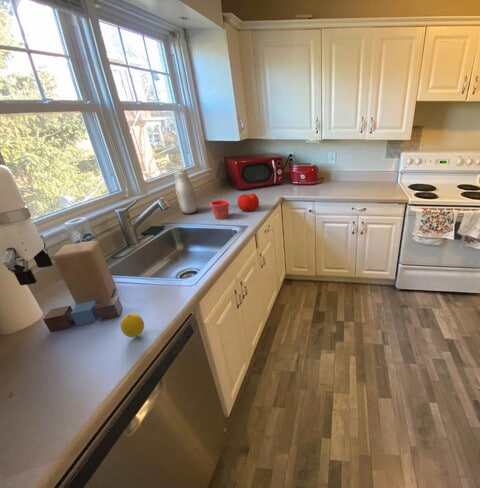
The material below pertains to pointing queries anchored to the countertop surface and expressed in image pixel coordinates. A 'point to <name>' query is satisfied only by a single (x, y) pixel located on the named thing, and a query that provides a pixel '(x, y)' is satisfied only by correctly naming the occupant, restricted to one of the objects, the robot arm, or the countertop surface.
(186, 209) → the glass bottle
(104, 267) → the block
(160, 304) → the countertop surface
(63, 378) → the countertop surface
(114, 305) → the block right
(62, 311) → the block left
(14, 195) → the robot arm
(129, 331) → the lemon
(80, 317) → the blue block
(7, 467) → the countertop surface
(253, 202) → the tomato
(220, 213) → the flower pot
